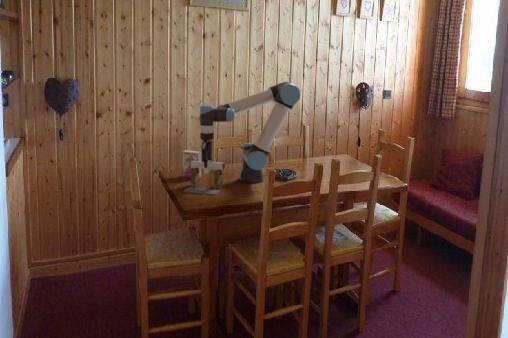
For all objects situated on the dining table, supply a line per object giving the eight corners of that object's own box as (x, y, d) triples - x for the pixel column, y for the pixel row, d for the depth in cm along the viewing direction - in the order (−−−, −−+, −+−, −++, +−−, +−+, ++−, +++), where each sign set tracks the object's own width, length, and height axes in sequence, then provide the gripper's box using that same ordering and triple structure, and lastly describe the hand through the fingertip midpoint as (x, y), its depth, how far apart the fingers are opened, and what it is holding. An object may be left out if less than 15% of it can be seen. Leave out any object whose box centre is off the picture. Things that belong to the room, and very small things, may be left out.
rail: (224, 168, 293) (224, 162, 292) (223, 169, 290) (223, 163, 289) (191, 166, 297) (191, 160, 296) (189, 167, 294) (189, 161, 293)
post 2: (222, 186, 298) (222, 168, 295) (218, 189, 291) (218, 171, 288) (217, 185, 298) (217, 168, 296) (213, 188, 291) (213, 171, 289)
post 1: (199, 184, 300) (199, 166, 298) (195, 187, 294) (195, 169, 291) (194, 183, 301) (194, 166, 299) (190, 186, 294) (190, 169, 292)
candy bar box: (181, 177, 315) (181, 151, 311) (185, 175, 319) (185, 149, 315) (197, 179, 311) (198, 153, 307) (201, 177, 316) (201, 151, 312)
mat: (220, 191, 287) (220, 190, 287) (216, 195, 280) (216, 194, 280) (188, 188, 291) (188, 187, 291) (183, 192, 283) (183, 191, 283)
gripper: (204, 129, 297) (205, 168, 303) (195, 134, 281) (196, 175, 287) (217, 130, 295) (217, 169, 301) (208, 135, 280) (209, 176, 285)
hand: (207, 171), depth 294 cm, fingers closed on rail, 3 cm apart
